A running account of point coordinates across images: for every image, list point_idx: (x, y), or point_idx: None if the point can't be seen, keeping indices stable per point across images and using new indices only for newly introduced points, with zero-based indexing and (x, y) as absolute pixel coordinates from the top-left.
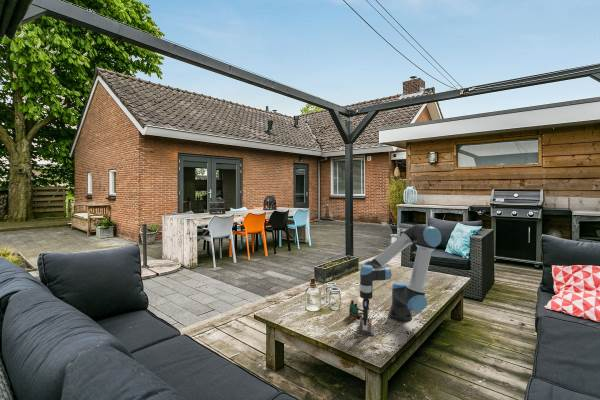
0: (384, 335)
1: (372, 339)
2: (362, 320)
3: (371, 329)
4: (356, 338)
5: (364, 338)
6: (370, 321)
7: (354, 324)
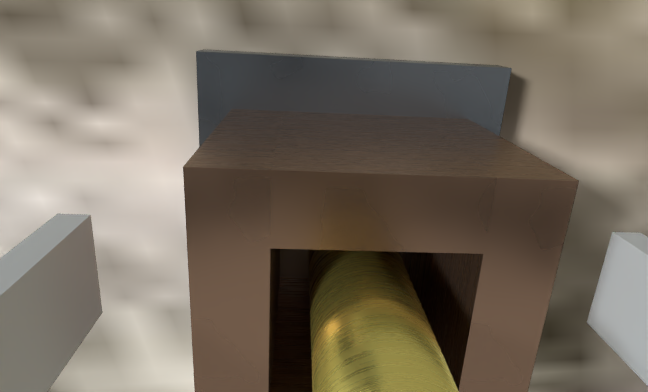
0: None
1: (620, 91)
2: (278, 378)
3: (306, 110)
4: (589, 332)
5: (587, 223)
6: (434, 207)
7: (135, 382)
